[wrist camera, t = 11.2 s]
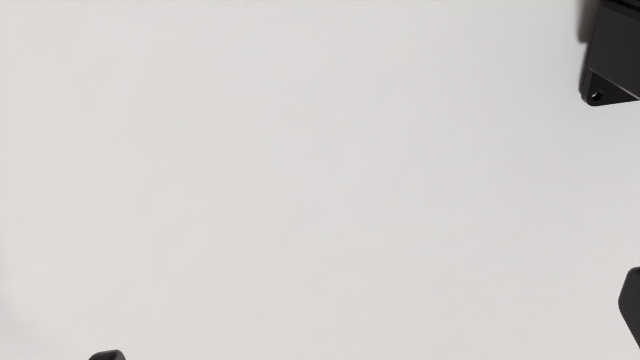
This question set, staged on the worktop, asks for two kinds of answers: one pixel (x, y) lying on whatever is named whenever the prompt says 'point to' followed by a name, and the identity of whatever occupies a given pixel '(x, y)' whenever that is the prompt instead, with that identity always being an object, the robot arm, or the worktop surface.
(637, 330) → the robot arm
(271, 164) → the worktop surface
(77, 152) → the worktop surface
